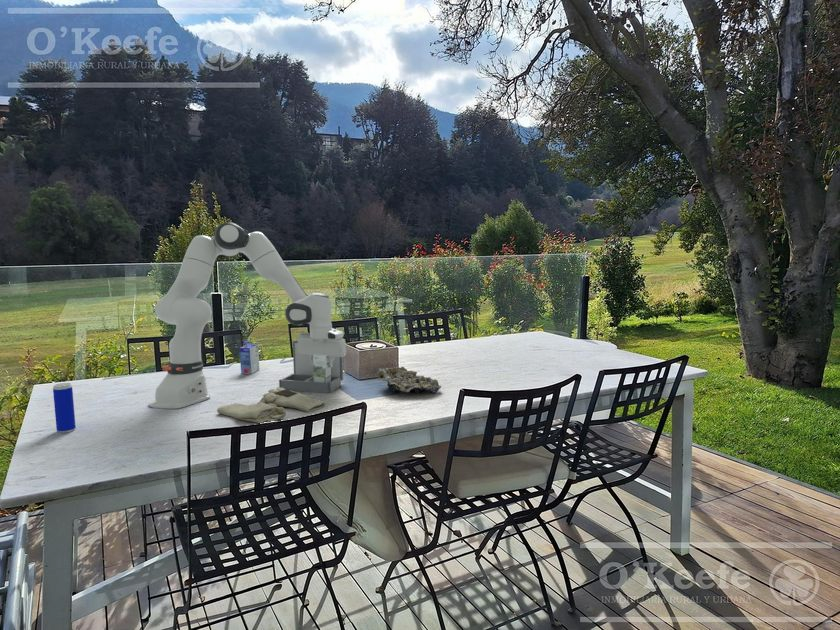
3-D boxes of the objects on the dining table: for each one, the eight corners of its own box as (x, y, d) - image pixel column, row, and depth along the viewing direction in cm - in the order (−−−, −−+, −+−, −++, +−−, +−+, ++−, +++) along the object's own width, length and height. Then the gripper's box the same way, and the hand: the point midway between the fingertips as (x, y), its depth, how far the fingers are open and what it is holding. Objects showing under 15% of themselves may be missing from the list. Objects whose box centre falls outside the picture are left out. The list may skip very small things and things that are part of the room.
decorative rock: (398, 399, 212) (396, 372, 212) (370, 392, 235) (368, 368, 235) (447, 392, 223) (446, 366, 223) (416, 386, 245) (414, 363, 245)
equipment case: (330, 393, 224) (329, 348, 222) (279, 389, 230) (277, 345, 228) (343, 384, 238) (342, 342, 236) (295, 381, 243) (294, 340, 241)
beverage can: (79, 427, 184) (75, 382, 182) (69, 433, 178) (65, 386, 177) (62, 428, 183) (58, 382, 182) (53, 433, 178) (48, 386, 176)
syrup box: (331, 386, 234) (331, 352, 232) (325, 390, 228) (326, 355, 226) (318, 385, 236) (318, 351, 234) (312, 389, 230) (312, 354, 228)
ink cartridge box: (248, 369, 268) (247, 338, 266) (260, 369, 267) (258, 338, 265) (240, 374, 258) (238, 342, 256) (251, 374, 257) (250, 342, 255)
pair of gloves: (282, 396, 222) (282, 383, 221) (327, 408, 206) (327, 393, 205) (213, 415, 198) (212, 400, 197) (258, 429, 182) (257, 413, 182)
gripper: (293, 333, 228) (294, 367, 230) (341, 335, 223) (342, 369, 225) (300, 331, 234) (301, 363, 236) (347, 332, 229) (348, 366, 231)
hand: (322, 366), depth 230 cm, fingers closed on syrup box, 6 cm apart
